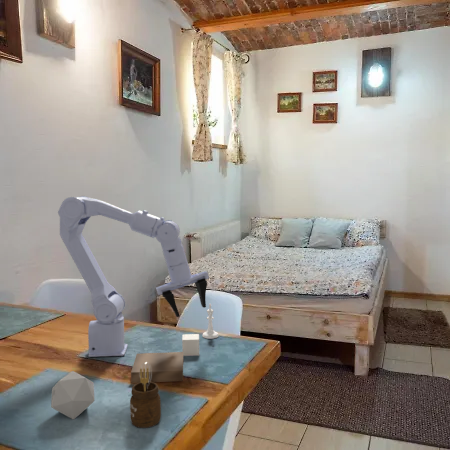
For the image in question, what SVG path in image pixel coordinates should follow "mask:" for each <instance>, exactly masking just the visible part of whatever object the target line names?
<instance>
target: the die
mask: <svg viewBox="0 0 450 450" xmlns="http://www.w3.org/2000/svg"><path fill="white" fill-rule="evenodd" d="M50 401H51V406H50V408H52V409H53V410H55V411H57V412H58V413H61V414H62V415H64V416H66V417H67V418H70V419H71V420H74V421H75V419H76V418H77V417H78V416H80V414H82V413H83V412H84V411H85V410H86V409H88V408H89V407H90V406H91V405H92V404H94V402H95V383H94V382H93V381H92V380H90V379H88V378H86V377H85V376H83V375H81V374H79V373H78V372H75V371H74V370H72V371H70V372H69V373H67V374H66V375H64V377H62V378H61V379H59V380H58V381H57V382H56V384H55V385H54V386H53V387H52V388H51V400H50Z"/></svg>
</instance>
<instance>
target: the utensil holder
mask: <svg viewBox="0 0 450 450" xmlns="http://www.w3.org/2000/svg"><path fill="white" fill-rule="evenodd" d="M148 364H149V363H148ZM142 366H143V364H142ZM150 366H151V365H150ZM150 366H149V367H150ZM140 367H141V366H140ZM149 369H150V368H149ZM143 374H144V378H142V368H141V369H140V383H134V385H132V387H131V392H130V393H131V396H130V400H129V401H130V402H129V414H130V423H131V425H132V426H134V427H135V428H138V429H146V428H147V429H148V428H152V427H154V426H157V425H158V424H159V422H161V417H162V405H161V402H162V401H161V395H160V392H159V390H160V389H159V386H158V383H157V382H149V380H150V377H149V375H148V368H147V378H145V375H146V363H145V368H144V369H143ZM151 376H152V369H151ZM150 381H151V380H150Z"/></svg>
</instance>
